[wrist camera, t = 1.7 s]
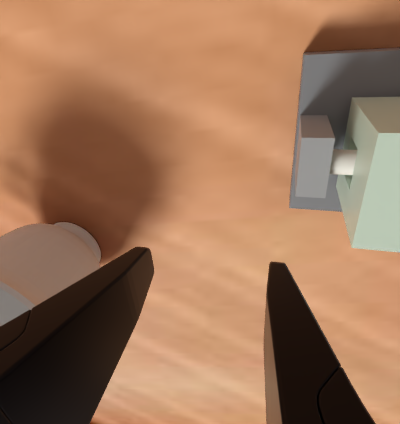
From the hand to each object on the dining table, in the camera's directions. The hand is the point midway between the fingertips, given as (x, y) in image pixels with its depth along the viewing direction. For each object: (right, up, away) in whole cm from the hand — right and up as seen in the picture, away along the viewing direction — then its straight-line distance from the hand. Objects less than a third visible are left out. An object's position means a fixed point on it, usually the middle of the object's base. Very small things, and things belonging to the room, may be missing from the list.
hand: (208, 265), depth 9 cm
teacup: (-14, -1, +21) cm, 25 cm away
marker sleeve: (+10, +5, +7) cm, 13 cm away
